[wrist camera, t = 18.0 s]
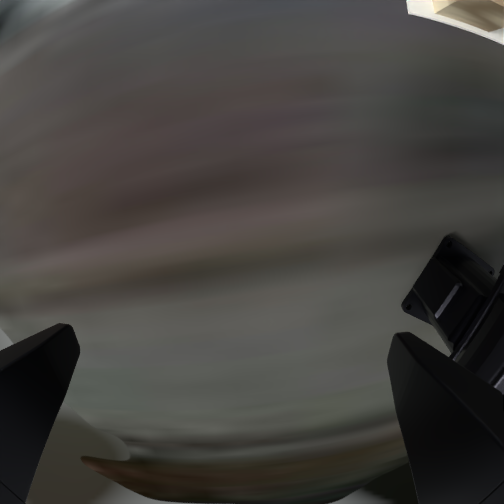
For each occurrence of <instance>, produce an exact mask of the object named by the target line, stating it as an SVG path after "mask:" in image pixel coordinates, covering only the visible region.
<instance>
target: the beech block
mask: <svg viewBox="0 0 504 504" xmlns="http://www.w3.org/2000/svg"><path fill="white" fill-rule="evenodd" d="M432 2H433V7H434V13H435V14H438V15H442V16H445V17H448V18H451V19H454V20H457V21H460V22H463V23H466V24H469V25H472V26H474V27H477V28H479V29H482V30H485V31H487V32H491V31H494V30H498V29H501V28H504V0H432Z"/></svg>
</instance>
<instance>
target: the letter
mask: <svg viewBox="0 0 504 504" xmlns="http://www.w3.org/2000/svg"><path fill="white" fill-rule="evenodd" d="M406 2H407V8H408V14H410V15H415V16H419V17H423V18H427V19H430V20H434V21H438V22H441V23H444V24H448V25H451V26H454V27H457V28H460V29H463V30H466V31H469V32H472V33H474V34H477V35H480V36H482V37H485V38H487V39H490V40H492V41H495V42H497V43H500V44H502V45H504V28H501V29H498V30H494V31H491V32H487V31H485V30H482V29H479V28H477V27H474V26H472V25H469V24H466V23H463V22H460V21H457V20H454V19H451V18H448V17H445V16H442V15H438V14H435V13H434V7H433V2H432V0H406Z"/></svg>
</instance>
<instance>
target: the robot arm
mask: <svg viewBox="0 0 504 504" xmlns="http://www.w3.org/2000/svg"><path fill="white" fill-rule="evenodd" d="M449 241H450V244H449V245H448V246H447V243H448V242H449ZM489 271H490V272H489ZM493 275H494V269H493V268H492V267H491V266H489V265H488V264H487V263H486V262H484V261H483V260H482V259H480V258H479V257H478V256H476V255H475V254H474V253H472V252H471V251H470V250H468V249H467V248H466V247H464V246H463V245H462V244H460V243H459V242H457V241H456V240H455V239H453V238H452V237H450V236H446V237H444V239H443V240H442V242H441V243H440V245H439V247H438V248H437V250H436V252H435V253H434V255H433V257H432V258H431V259H430V261H429V262H428V264H427V265H426V267H425V269H424V270H423V272H422V273H421V275H420V276H419V278H418V279H417V281H416V282H415V284H414V285H413V288H412V289H411V291H410V292H409V293H408V295H407V296H406V298H405V299H404V301H403V302H402V304H401V307H402V309H403V311H404V312H406V313H408V314H410V315H412V316H414V317H416V318H418V319H420V320H422V321H425V322H427V323H429V324H431V325H433V326H434V328H435V329H436V331H437V332H438V334H439V335H440V337H441V338H442V340H443V341H444V343H445V344H446V346H447V347H448V349H449V350H450V352H451V353H452V354H451V355H450V356H449V357H448V356H446V355H445V354H443V353H441V352H440V351H438V350H437V349H435V348H434V347H432V346H431V345H429V344H428V343H426V342H424V341H423V340H421V339H420V338H418V337H417V336H415V335H414V334H412V333H410V332H399V333H396V334H394V336H393V339H392V343H391V347H390V350H389V354H388V359H387V365H388V370H389V375H390V381H391V386H392V392H393V398H394V404H395V409H396V413H397V417H398V421H399V425H400V428H401V432H402V435H403V439H404V443H405V447H406V450H407V454H408V458H409V462H410V466H411V470H412V474H413V478H414V483H415V488H416V492H417V496H418V502H419V504H504V265H503V266H502V268H501V270H500V275H499V277H498V279H496V278H495V277H493ZM408 304H410V306H408V307H406V306H407V305H408ZM79 355H80V346H79V343H78V340H77V338H76V335H75V332H74V330H73V327H72V326H71V325H69V324H63V323H59V324H56V325H54V326H52V327H50V328H48V329H45V330H43V331H41V332H39V333H37V334H35V335H33V336H30V337H28V338H26V339H24V340H22V341H20V342H18V343H16V344H13V345H11V346H9V347H7V348H5V349H3V350H1V351H0V504H25V502H26V500H27V496H28V493H29V490H30V487H31V484H32V481H33V477H34V475H35V472H36V469H37V466H38V463H39V460H40V457H41V455H42V452H43V449H44V447H45V444H46V442H47V439H48V437H49V434H50V431H51V429H52V427H53V424H54V421H55V419H56V417H57V414H58V412H59V410H60V407H61V405H62V403H63V400H64V398H65V395H66V393H67V390H68V387H69V384H70V381H71V378H72V375H73V372H74V369H75V366H76V363H77V361H78V358H79Z"/></svg>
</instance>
